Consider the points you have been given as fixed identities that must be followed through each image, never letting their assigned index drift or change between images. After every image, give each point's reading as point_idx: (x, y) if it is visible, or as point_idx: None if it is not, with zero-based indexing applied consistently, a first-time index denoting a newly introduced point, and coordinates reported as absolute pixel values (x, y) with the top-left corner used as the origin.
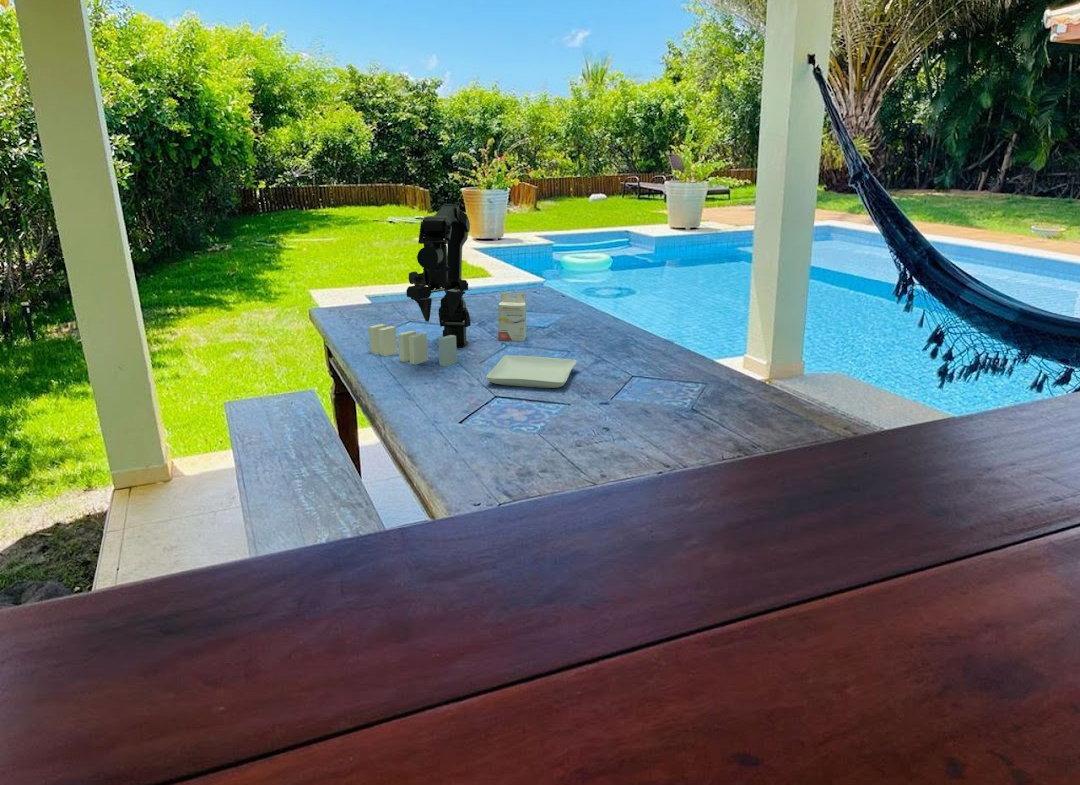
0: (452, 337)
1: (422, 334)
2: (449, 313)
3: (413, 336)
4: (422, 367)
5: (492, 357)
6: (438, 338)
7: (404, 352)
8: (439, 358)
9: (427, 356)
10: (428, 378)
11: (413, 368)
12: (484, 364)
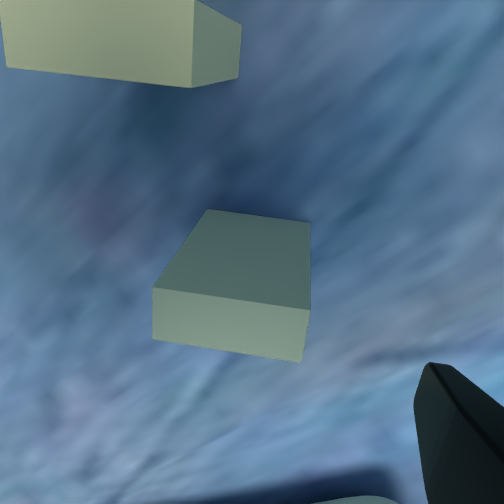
0: (257, 352)
1: (153, 58)
2: (433, 391)
3: (32, 35)
4: (116, 151)
5: (499, 358)
6: (153, 286)
7: None
8: (197, 225)
9: (231, 79)
10: (19, 299)
11: (68, 119)
12: (354, 386)
